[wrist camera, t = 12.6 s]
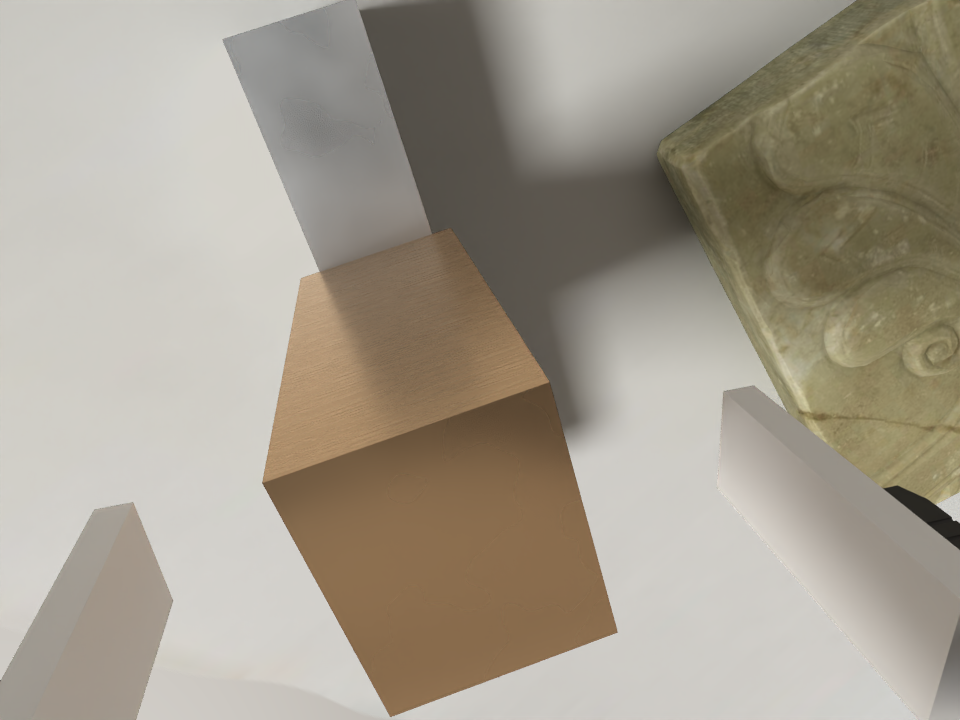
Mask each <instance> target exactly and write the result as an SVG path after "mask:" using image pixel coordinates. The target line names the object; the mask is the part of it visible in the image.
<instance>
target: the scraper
mask: <svg viewBox="0 0 960 720" xmlns="http://www.w3.org/2000/svg"><path fill="white" fill-rule="evenodd" d="M222 40H223V42H224V45H225V47H226V49H227V52H228V54H229V57H230V59H231V61H232V64H233V66H234V68H235V71H236V73H237V76H238V78H239V80H240V83H241V85H242V88H243V90H244V92H245V95H246V97H247V99H248V102H249V104H250V107H251V109H252V111H253V114H254V116H255V118H256V121H257V123H258V126H259V128H260V130H261V133H262V135H263V138H264V140H265V142H266V145H267V147H268V149H269V152H270V154H271V157H272V159H273V161H274V164H275V166H276V169H277V171H278V173H279V176H280V178H281V180H282V183H283V185H284V188H285V190H286V192H287V195H288V197H289V200H290V202H291V204H292V207H293V209H294V211H295V214H296V216H297V219H298V221H299V223H300V226H301V228H302V231H303V233H304V235H305V238H306V240H307V242H308V245H309V247H310V250H311V252H312V254H313V257H314V259H315V261H316V264H317V266H318V269H319V271H320V272H318V273H315V274H312V275H309V276H306V277H303V278H301V281H300V286H299V291H298V297H297V302H296V307H295V312H294V318H293V323H292V328H291V334H290V339H289V344H288V350H287V355H286V360H285V365H284V371H283V376H282V381H281V387H280V392H279V397H278V402H277V408H276V413H275V418H274V424H273V429H272V434H271V440H270V445H269V450H268V455H267V461H266V466H265V471H264V477H263V482H262V483H263V485H264V487H265V489H266V491H267V493H268V494H269V496H270V498H271V500H272V502H273V503H274V505H275V507H276V509H277V511H278V513H279V514H280V516H281V518H282V520H283V522H284V524H285V525H286V527H287V529H288V531H289V533H290V535H291V536H292V538H293V540H294V542H295V544H296V545H297V547H298V549H299V551H300V553H301V555H302V556H303V558H304V560H305V562H306V564H307V566H308V567H309V569H310V571H311V573H312V575H313V577H314V578H315V580H316V582H317V584H318V586H319V587H320V589H321V591H322V593H323V595H324V597H325V598H326V600H327V602H328V604H329V606H330V608H331V609H332V611H333V613H334V615H335V617H336V618H337V620H338V622H339V624H340V626H341V628H342V629H343V631H344V633H345V635H346V637H347V639H348V640H349V642H350V644H351V646H352V648H353V650H354V651H355V653H356V655H357V657H358V659H359V660H360V662H361V664H362V666H363V668H364V670H365V671H366V673H367V675H368V677H369V679H370V681H371V682H372V684H373V686H374V688H375V690H376V692H377V693H378V695H379V697H380V699H381V701H382V702H383V704H384V706H385V708H386V710H387V712H388V713H389V715H390V717H392V716H395V715H397V714H400V713H403V712H405V711H408V710H411V709H413V708H416V707H419V706H421V705H424V704H427V703H430V702H432V701H435V700H438V699H440V698H443V697H446V696H448V695H451V694H454V693H456V692H459V691H462V690H464V689H467V688H470V687H473V686H475V685H478V684H481V683H483V682H486V681H489V680H491V679H494V678H497V677H499V676H502V675H505V674H507V673H510V672H513V671H516V670H518V669H521V668H524V667H526V666H529V665H532V664H534V663H537V662H540V661H542V660H545V659H548V658H550V657H553V656H556V655H559V654H561V653H564V652H567V651H569V650H572V649H575V648H577V647H580V646H583V645H585V644H588V643H591V642H593V641H596V640H599V639H601V638H604V637H607V636H610V635H612V634H615V633H618V632H617V628H616V624H615V621H614V617H613V613H612V609H611V606H610V602H609V598H608V595H607V591H606V587H605V584H604V580H603V576H602V573H601V569H600V565H599V562H598V558H597V554H596V551H595V547H594V543H593V540H592V536H591V532H590V529H589V525H588V521H587V517H586V514H585V510H584V506H583V503H582V499H581V495H580V492H579V488H578V484H577V481H576V477H575V473H574V470H573V466H572V462H571V459H570V455H569V451H568V448H567V444H566V440H565V437H564V433H563V429H562V426H561V422H560V418H559V414H558V411H557V407H556V403H555V400H554V396H553V392H552V389H551V385H550V382H549V380H548V379H547V377H546V375H545V374H544V372H543V371H542V369H541V368H540V366H539V365H538V363H537V361H536V360H535V358H534V357H533V355H532V354H531V352H530V351H529V349H528V347H527V346H526V344H525V343H524V341H523V340H522V338H521V336H520V335H519V333H518V332H517V330H516V329H515V327H514V326H513V324H512V322H511V321H510V319H509V318H508V316H507V315H506V313H505V311H504V310H503V308H502V307H501V305H500V304H499V302H498V301H497V299H496V297H495V296H494V294H493V293H492V291H491V290H490V288H489V287H488V285H487V283H486V282H485V280H484V279H483V277H482V276H481V274H480V272H479V271H478V269H477V268H476V266H475V265H474V263H473V262H472V260H471V258H470V257H469V255H468V254H467V252H466V251H465V249H464V247H463V246H462V244H461V243H460V241H459V240H458V238H457V237H456V235H455V233H454V232H453V230H452V229H451V228H449V229H446V230H443V231H440V232H437V233H434V234H432V232H431V229H430V225H429V222H428V219H427V216H426V213H425V210H424V207H423V204H422V201H421V198H420V195H419V192H418V189H417V186H416V183H415V180H414V177H413V174H412V170H411V167H410V164H409V161H408V158H407V155H406V152H405V149H404V146H403V143H402V140H401V137H400V134H399V131H398V128H397V125H396V122H395V119H394V115H393V112H392V109H391V106H390V103H389V100H388V97H387V94H386V91H385V88H384V85H383V82H382V79H381V76H380V73H379V70H378V67H377V64H376V61H375V57H374V54H373V51H372V48H371V45H370V42H369V39H368V36H367V33H366V30H365V27H364V24H363V21H362V18H361V15H360V12H359V9H358V6H357V2H356V0H345V1H341V2H338V3H335V4H332V5H329V6H326V7H323V8H319V9H316V10H313V11H310V12H307V13H304V14H301V15H297V16H294V17H291V18H288V19H285V20H282V21H279V22H275V23H272V24H269V25H266V26H263V27H260V28H257V29H253V30H250V31H247V32H244V33H241V34H238V35H235V36H231V37H228V38H225V39H222Z"/></svg>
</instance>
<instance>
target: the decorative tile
mask: <svg viewBox="0 0 960 720" xmlns="http://www.w3.org/2000/svg"><path fill="white" fill-rule="evenodd" d="M657 158H658V160H659V162H660V164H661V166H662V168H663V170H664V172H665V174H666V176H667V178H668V180H669V182H670V184H671V186H672V188H673V190H674V192H675V194H676V196H677V198H678V200H679V202H680V204H681V206H682V208H683V210H684V212H685V213H686V215H687V217H688V219H689V221H690V223H691V225H692V227H693V229H694V231H695V233H696V235H697V237H698V239H699V241H700V243H701V245H702V247H703V249H704V251H705V253H706V255H707V257H708V259H709V261H710V263H711V265H712V266H713V268H714V270H715V272H716V274H717V276H718V278H719V280H720V282H721V284H722V286H723V288H724V290H725V292H726V294H727V296H728V298H729V300H730V301H731V303H732V305H733V307H734V309H735V311H736V313H737V315H738V317H739V319H740V321H741V323H742V325H743V327H744V329H745V331H746V333H747V335H748V337H749V339H750V340H751V342H752V344H753V346H754V348H755V350H756V352H757V354H758V356H759V358H760V360H761V362H762V363H763V365H764V367H765V369H766V371H767V373H768V375H769V377H770V379H771V381H772V383H773V385H774V387H775V389H776V391H777V393H778V394H779V396H780V398H781V400H782V402H783V404H784V406H785V408H786V410H787V412H788V413H789V414H790V415H791V416H793V417H794V418H795V419H796V420H798V421H799V422H800V423H801V424H803V425H804V426H805V427H806V428H808V429H809V430H810V431H811V432H813V433H814V434H815V435H816V436H818V437H819V438H820V439H821V440H823V441H824V442H825V443H826V444H828V445H829V446H830V447H831V448H833V449H834V450H835V451H836V452H838V453H839V454H840V455H841V456H843V457H844V458H845V459H846V460H848V461H849V462H850V463H851V464H853V465H854V466H855V467H856V468H858V469H859V470H860V471H861V472H863V473H864V474H865V475H866V476H868V477H869V478H870V479H871V480H873V481H874V482H875V483H876V484H878V485H879V486H880V487H881V488H887V487H892V486H897V485H898V486H900V487H902V488H904V489H907V490H909V491H911V492H913V493H915V494H918V495H920V496H922V497H924V498H926V499H928V500H930V501H931V502H932V503H934V504H935V505H936V504H937V503H939V502H941V501H943V500H945V499H947V498H949V497H951V496H953V495H955V494H957V493H959V492H960V0H857V1H855V2H854V3H853V4H851V5H850V6H848V7H847V8H845V9H844V10H843V11H841V12H840V13H838V14H837V15H836V16H834V17H833V18H831V19H830V20H829V21H827V22H826V23H824V24H823V25H821V26H820V27H819V28H817V29H816V30H814V31H813V32H812V33H810V34H809V35H807V36H806V37H804V38H803V39H802V40H800V41H799V42H797V43H796V44H794V45H793V46H792V47H790V48H789V49H787V50H786V51H785V52H783V53H782V54H780V55H779V56H778V57H776V58H775V59H774V60H772V61H771V62H770V63H768V64H767V65H766V66H764V67H763V68H761V69H760V70H759V71H757V72H756V73H755V74H753V75H752V76H751V77H749V78H748V79H747V80H745V81H744V82H742V83H741V84H740V85H738V86H737V87H736V88H734V89H733V90H731V91H730V92H728V93H727V94H726V95H724V96H723V97H722V98H720V99H719V100H718V101H716V102H715V103H713V104H712V105H710V106H709V107H708V108H706V109H705V110H703V111H702V112H700V113H699V114H698V115H696V116H695V117H694V118H692V119H691V120H689V121H688V122H687V123H685V124H684V125H682V126H681V127H680V128H678V129H677V130H675V131H674V132H672V133H671V134H670V135H668V136H667V137H666V138H664V139H663V140H662V141H661V143H660V146H659V149H658V152H657Z"/></svg>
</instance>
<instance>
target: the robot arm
mask: <svg viewBox="0 0 960 720" xmlns="http://www.w3.org/2000/svg"><path fill="white" fill-rule="evenodd" d="M717 489H718V490H719V491H720V492H721V493H722V494H723V496H724V497H725V498H726V499H727V500H728V501H729V502H730V504H731V505H732V506H733V507H734V508H735V509H736V511H737V512H738V513H739V514H740V515H741V516H742V517H743V519H744V520H745V521H746V522H747V523H748V524H749V525H750V527H751V528H752V529H753V530H754V531H755V532H756V534H757V535H758V536H759V537H760V538H761V539H762V540H763V542H764V543H765V544H766V545H767V546H768V547H769V549H770V550H771V551H772V552H773V553H774V554H775V555H776V557H777V558H778V559H779V560H780V561H781V562H782V564H783V565H784V566H785V567H786V568H787V569H788V570H789V572H790V573H791V574H792V575H793V576H794V577H795V578H796V580H797V581H798V582H799V583H800V584H801V585H802V587H803V588H804V589H805V590H806V591H807V592H808V593H809V595H810V596H811V597H812V598H813V599H814V600H815V602H816V603H817V604H818V605H819V606H820V607H821V608H822V610H823V611H824V612H825V613H826V614H827V615H828V616H829V618H830V619H831V620H832V621H833V622H834V623H835V625H836V626H837V627H838V628H839V629H840V630H841V631H842V633H843V634H844V635H845V636H846V637H847V638H848V640H849V641H850V642H851V643H852V644H853V645H854V646H855V648H856V649H857V650H858V651H859V652H860V653H861V654H862V656H863V657H864V658H865V659H866V660H867V661H868V663H869V664H870V665H871V666H872V667H873V668H874V669H875V671H876V672H877V673H878V674H879V675H880V676H881V678H882V679H883V680H884V681H885V682H886V683H887V684H888V686H889V687H890V688H891V689H892V690H893V691H894V692H895V694H896V695H897V696H898V697H899V698H900V699H901V701H902V702H903V703H904V704H905V705H906V706H907V707H908V709H909V710H910V711H911V712H912V713H913V714H914V716H915V717H916V718H917V719H918V720H960V523H959V522H957V521H953V520H952V517H951V516H949V515H948V514H947V513H945V512H944V511H943V510H941V509H940V508H939V507H937V506H936V505H935V504H934V503H932V502H931V501H930V500H928V499H926V498H924V497H922V496H920V495H918V494H915V493H913V492H911V491H909V490H907V489H904V488H902V487H900V486H898V485H897V486H892V487H887V488H881V487H880V486H879V485H878V484H876V483H875V482H874V481H873V480H871V479H870V478H869V477H868V476H866V475H865V474H864V473H863V472H861V471H860V470H859V469H858V468H856V467H855V466H854V465H853V464H851V463H850V462H849V461H848V460H846V459H845V458H844V457H843V456H841V455H840V454H839V453H838V452H836V451H835V450H834V449H833V448H831V447H830V446H829V445H828V444H826V443H825V442H824V441H823V440H821V439H820V438H819V437H818V436H816V435H815V434H814V433H813V432H811V431H810V430H809V429H808V428H806V427H805V426H804V425H803V424H801V423H800V422H799V421H798V420H796V419H795V418H794V417H793V416H791V415H790V414H789V413H788V412H786V411H785V410H784V409H783V408H781V407H780V406H779V405H778V404H776V403H775V402H774V401H773V400H771V399H770V398H769V397H768V396H766V395H765V394H764V393H763V392H761V391H760V390H759V389H758V388H756V387H755V386H749V387H743V388H738V389H733V390H727V391H723V404H722V419H721V433H720V448H719V463H718V478H717ZM172 603H173V599H172V597H171V594H170V592H169V589H168V587H167V584H166V582H165V580H164V577H163V575H162V572H161V570H160V567H159V565H158V562H157V560H156V557H155V555H154V552H153V550H152V548H151V545H150V543H149V540H148V538H147V535H146V533H145V530H144V528H143V525H142V523H141V520H140V518H139V516H138V513H137V511H136V508H135V506H134V503H133V502H132V503H127V504H122V505H116V506H111V507H106V508H100V509H95V510H94V511H93V513H92V515H91V517H90V518H89V520H88V522H87V524H86V526H85V528H84V529H83V531H82V533H81V535H80V537H79V538H78V540H77V542H76V544H75V546H74V548H73V549H72V551H71V553H70V555H69V557H68V559H67V560H66V562H65V564H64V566H63V568H62V570H61V571H60V573H59V575H58V577H57V579H56V580H55V582H54V584H53V586H52V588H51V590H50V591H49V593H48V595H47V597H46V599H45V601H44V602H43V604H42V606H41V608H40V610H39V612H38V613H37V615H36V617H35V619H34V621H33V623H32V624H31V626H30V628H29V630H28V632H27V633H26V635H25V637H24V639H23V641H22V643H21V644H20V646H19V648H18V650H17V652H16V654H15V655H14V657H13V659H12V661H11V663H10V665H9V666H8V668H7V670H6V672H5V674H4V675H3V677H2V679H1V680H0V720H136V718H137V715H138V712H139V709H140V706H141V702H142V699H143V696H144V693H145V689H146V686H147V683H148V680H149V677H150V673H151V670H152V667H153V664H154V661H155V657H156V654H157V651H158V648H159V645H160V641H161V638H162V635H163V632H164V628H165V625H166V622H167V619H168V616H169V612H170V609H171V606H172Z"/></svg>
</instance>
